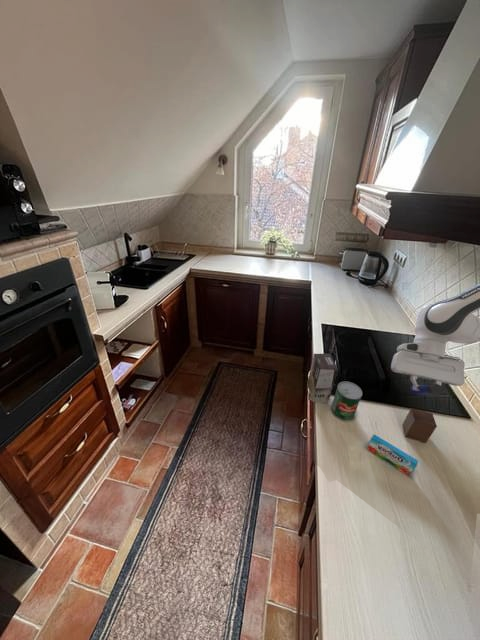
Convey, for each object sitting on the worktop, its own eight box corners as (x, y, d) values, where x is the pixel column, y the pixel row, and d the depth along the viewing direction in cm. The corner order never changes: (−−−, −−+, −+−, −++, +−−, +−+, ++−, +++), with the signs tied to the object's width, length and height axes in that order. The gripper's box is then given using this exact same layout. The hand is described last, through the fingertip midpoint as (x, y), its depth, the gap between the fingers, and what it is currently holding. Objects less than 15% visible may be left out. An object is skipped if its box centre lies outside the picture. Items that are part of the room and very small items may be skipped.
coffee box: (329, 402, 94) (338, 370, 85) (311, 402, 94) (319, 369, 85) (322, 384, 102) (331, 353, 93) (306, 384, 102) (313, 352, 93)
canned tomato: (344, 400, 95) (351, 379, 89) (358, 417, 88) (367, 395, 83) (326, 405, 93) (332, 383, 87) (339, 423, 86) (347, 401, 81)
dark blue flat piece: (409, 388, 91) (423, 361, 84) (419, 391, 90) (434, 363, 83) (416, 416, 81) (433, 388, 74) (428, 420, 80) (446, 391, 73)
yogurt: (365, 449, 78) (371, 437, 75) (367, 446, 79) (373, 433, 76) (409, 477, 72) (417, 464, 68) (410, 473, 73) (418, 460, 69)
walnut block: (402, 424, 86) (411, 408, 82) (422, 430, 85) (432, 413, 80) (404, 437, 82) (414, 420, 78) (425, 443, 81) (437, 426, 76)
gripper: (459, 359, 86) (456, 401, 83) (392, 346, 91) (386, 384, 88) (470, 357, 80) (467, 401, 77) (398, 343, 86) (393, 383, 83)
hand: (423, 392), depth 83 cm, fingers closed on dark blue flat piece, 3 cm apart
